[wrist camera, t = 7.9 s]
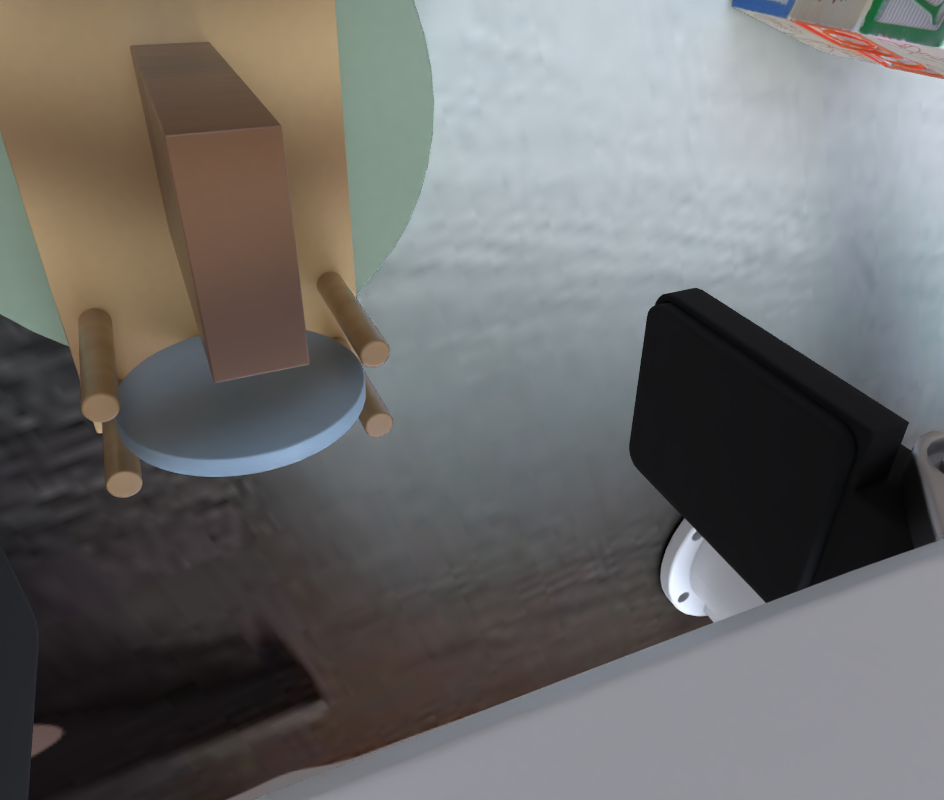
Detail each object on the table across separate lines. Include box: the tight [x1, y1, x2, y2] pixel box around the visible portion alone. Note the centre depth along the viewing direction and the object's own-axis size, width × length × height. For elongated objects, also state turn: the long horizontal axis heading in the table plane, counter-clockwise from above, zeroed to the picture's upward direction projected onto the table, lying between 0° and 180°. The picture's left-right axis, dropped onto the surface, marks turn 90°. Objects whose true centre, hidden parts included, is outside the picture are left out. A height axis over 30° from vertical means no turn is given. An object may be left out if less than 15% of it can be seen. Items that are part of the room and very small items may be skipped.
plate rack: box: [0, 0, 393, 497], centre depth 18 cm, size 18×9×10 cm, turn 178°
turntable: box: [0, 0, 434, 346], centre depth 23 cm, size 16×16×1 cm
